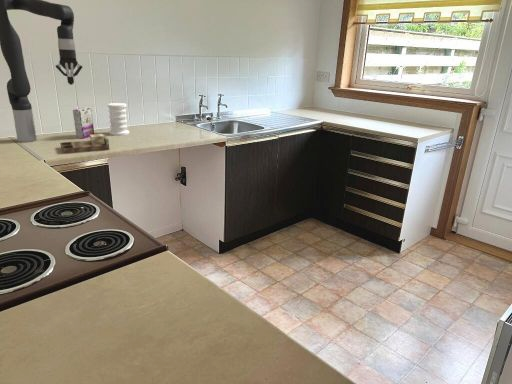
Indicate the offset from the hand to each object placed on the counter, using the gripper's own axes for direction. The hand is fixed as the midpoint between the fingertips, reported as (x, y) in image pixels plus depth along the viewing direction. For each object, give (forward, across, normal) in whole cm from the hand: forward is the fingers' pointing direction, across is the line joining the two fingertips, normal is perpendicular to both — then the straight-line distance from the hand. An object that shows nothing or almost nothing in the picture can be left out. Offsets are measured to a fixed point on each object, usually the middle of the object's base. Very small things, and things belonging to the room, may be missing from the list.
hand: (71, 84), depth 200 cm
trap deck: (+32, +2, -9) cm, 33 cm away
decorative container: (+32, +26, +22) cm, 47 cm away
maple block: (+29, +9, -9) cm, 32 cm away
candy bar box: (+32, +6, +20) cm, 38 cm away
